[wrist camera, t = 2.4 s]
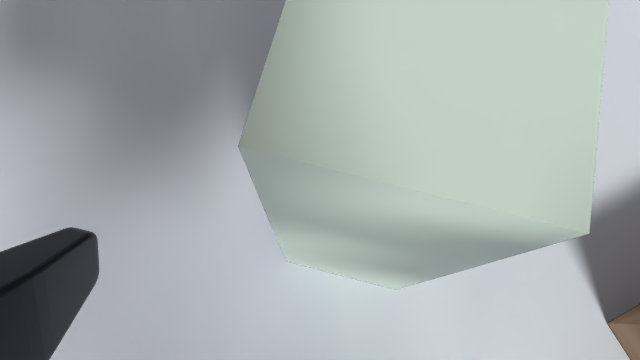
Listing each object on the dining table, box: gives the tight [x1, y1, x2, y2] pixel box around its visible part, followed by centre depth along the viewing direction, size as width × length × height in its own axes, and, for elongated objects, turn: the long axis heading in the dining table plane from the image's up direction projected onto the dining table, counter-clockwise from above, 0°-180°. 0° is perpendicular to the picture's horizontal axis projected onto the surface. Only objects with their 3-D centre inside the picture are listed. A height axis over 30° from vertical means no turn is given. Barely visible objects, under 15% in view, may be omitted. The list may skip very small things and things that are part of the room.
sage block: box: [238, 0, 609, 290], centre depth 13 cm, size 4×4×13 cm
